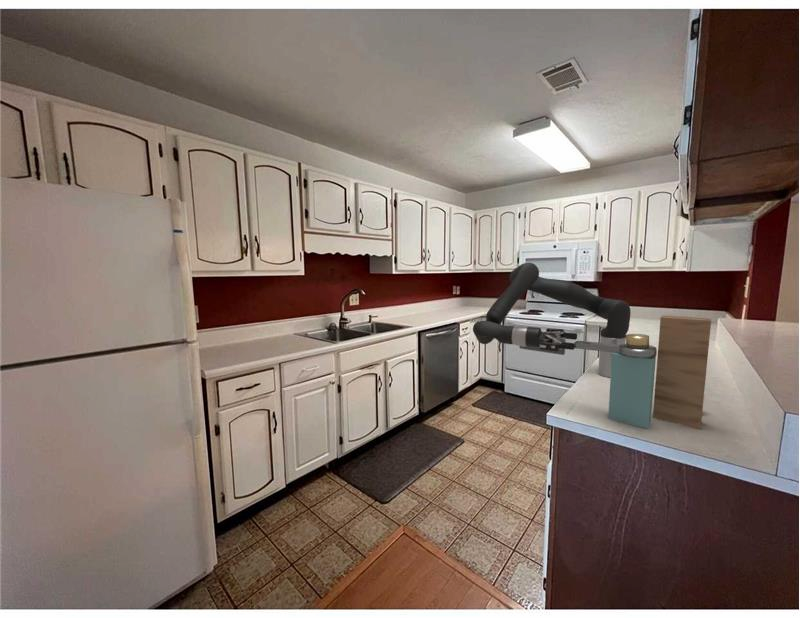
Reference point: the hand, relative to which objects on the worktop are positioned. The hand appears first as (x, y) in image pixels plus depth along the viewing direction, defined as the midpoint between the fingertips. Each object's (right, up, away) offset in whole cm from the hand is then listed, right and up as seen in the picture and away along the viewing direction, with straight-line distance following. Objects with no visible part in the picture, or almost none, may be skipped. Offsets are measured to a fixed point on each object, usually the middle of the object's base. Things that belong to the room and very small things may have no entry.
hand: (575, 341), depth 110 cm
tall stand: (+25, -23, -12) cm, 36 cm away
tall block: (+10, -23, -11) cm, 28 cm away
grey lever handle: (+6, -2, -10) cm, 12 cm away
